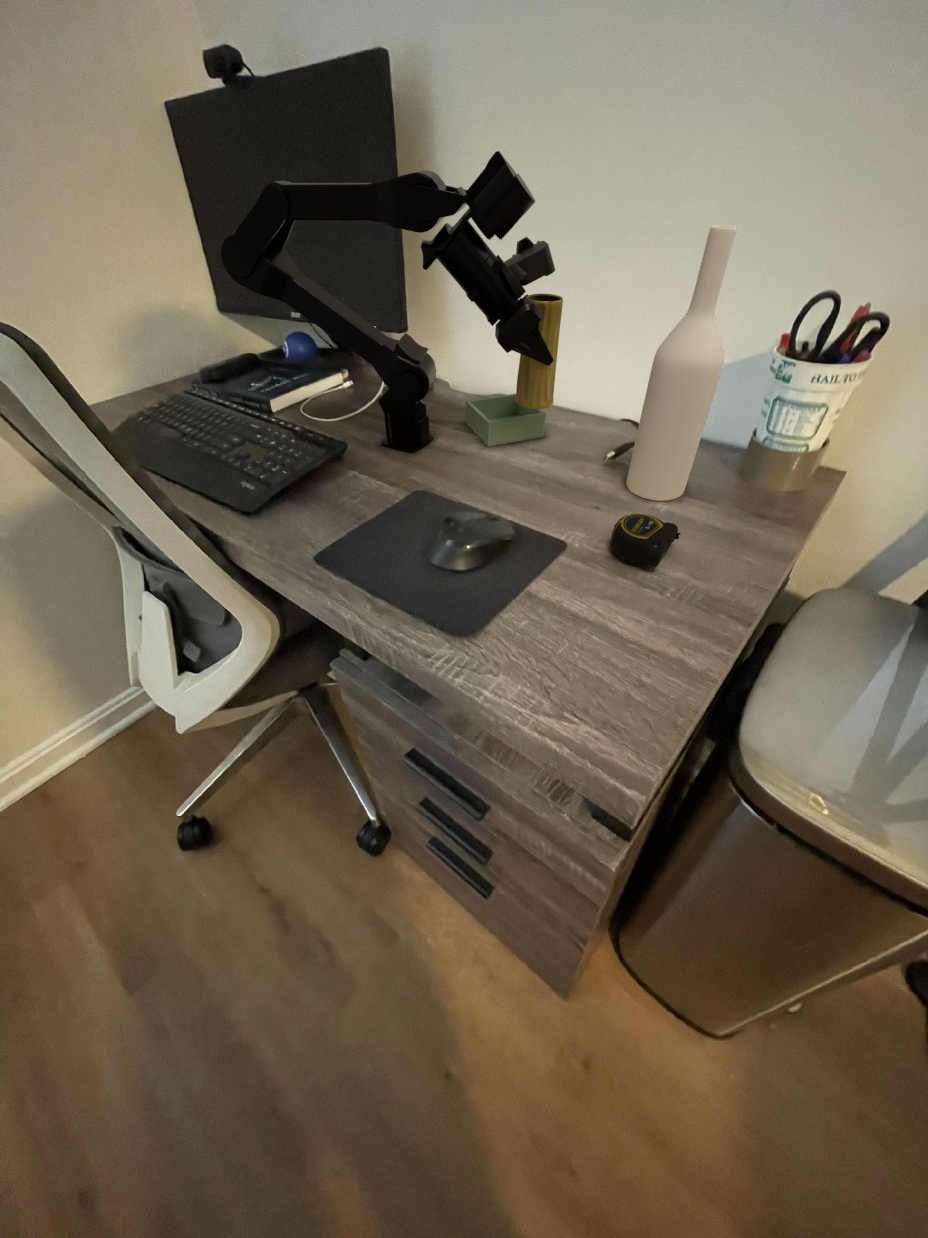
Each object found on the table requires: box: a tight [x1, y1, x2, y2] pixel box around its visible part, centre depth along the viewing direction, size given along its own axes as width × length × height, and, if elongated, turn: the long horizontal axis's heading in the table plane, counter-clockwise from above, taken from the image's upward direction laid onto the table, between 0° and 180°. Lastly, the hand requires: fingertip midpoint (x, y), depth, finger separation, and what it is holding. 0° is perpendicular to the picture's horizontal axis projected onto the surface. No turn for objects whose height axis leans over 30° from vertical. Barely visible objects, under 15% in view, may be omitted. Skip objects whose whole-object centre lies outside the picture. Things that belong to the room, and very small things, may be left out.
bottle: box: [625, 224, 738, 502], centre depth 64 cm, size 8×8×30 cm
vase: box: [515, 293, 564, 410], centre depth 76 cm, size 6×6×14 cm
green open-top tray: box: [465, 393, 546, 447], centre depth 88 cm, size 10×10×4 cm
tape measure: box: [610, 513, 682, 568], centre depth 61 cm, size 7×7×4 cm
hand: (547, 357), depth 77 cm, fingers closed on vase, 5 cm apart
